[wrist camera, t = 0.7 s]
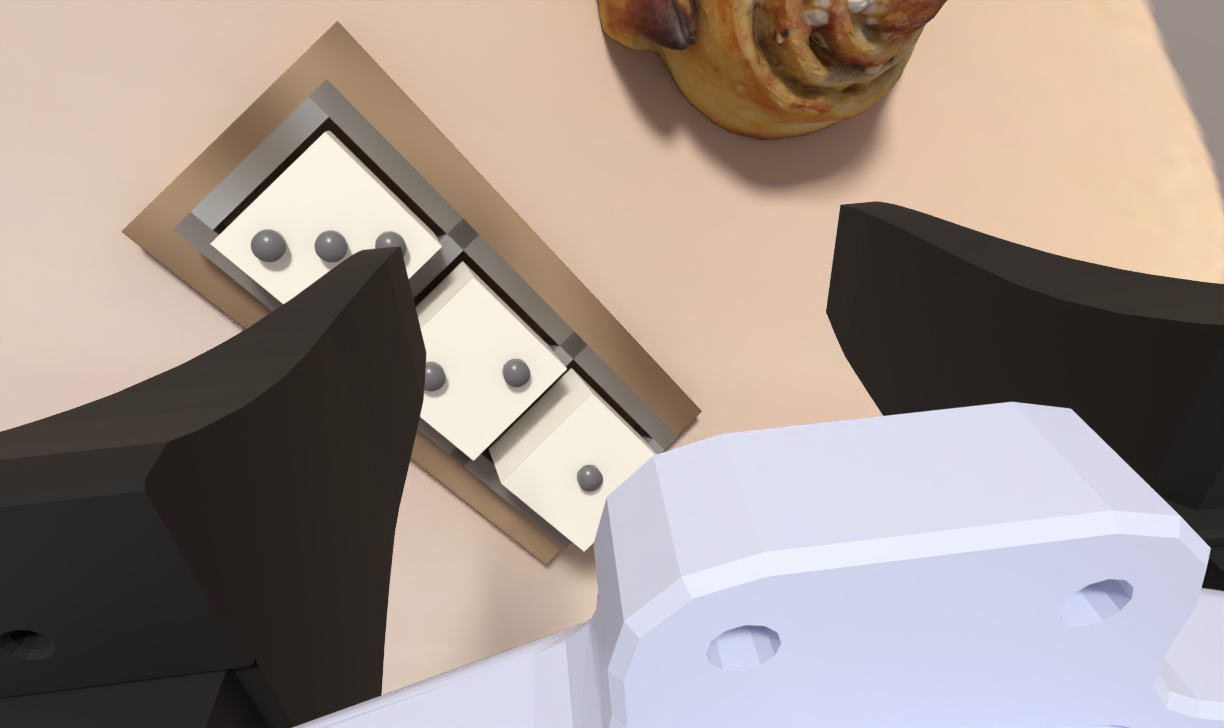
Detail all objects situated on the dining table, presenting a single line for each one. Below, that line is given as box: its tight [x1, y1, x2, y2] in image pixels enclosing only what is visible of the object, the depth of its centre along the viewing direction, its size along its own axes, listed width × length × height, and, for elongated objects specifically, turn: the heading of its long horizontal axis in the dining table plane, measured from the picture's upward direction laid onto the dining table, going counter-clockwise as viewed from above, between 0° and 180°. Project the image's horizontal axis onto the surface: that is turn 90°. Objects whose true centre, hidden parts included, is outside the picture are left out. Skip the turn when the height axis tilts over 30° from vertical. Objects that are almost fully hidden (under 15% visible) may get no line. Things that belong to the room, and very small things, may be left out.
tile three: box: [211, 131, 442, 304], centre depth 23 cm, size 5×5×3 cm
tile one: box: [489, 368, 657, 552], centre depth 28 cm, size 5×5×3 cm
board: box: [122, 21, 702, 564], centre depth 28 cm, size 10×21×3 cm, turn 41°
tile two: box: [416, 261, 567, 461], centre depth 25 cm, size 5×5×3 cm
